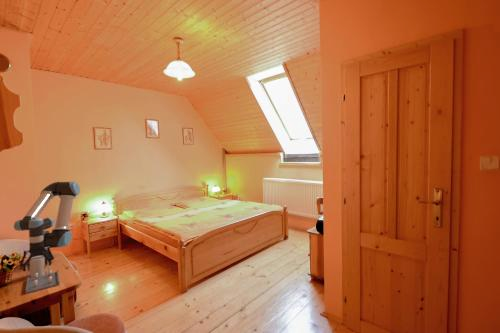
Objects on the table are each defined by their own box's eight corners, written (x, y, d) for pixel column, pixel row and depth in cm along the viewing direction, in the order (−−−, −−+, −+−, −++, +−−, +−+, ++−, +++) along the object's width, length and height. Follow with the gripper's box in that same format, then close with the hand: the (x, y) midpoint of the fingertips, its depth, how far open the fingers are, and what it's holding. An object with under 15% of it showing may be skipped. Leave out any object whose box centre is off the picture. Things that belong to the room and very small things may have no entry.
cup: (47, 273, 173) (47, 256, 172) (33, 278, 165) (33, 261, 165) (41, 271, 176) (41, 254, 176) (27, 276, 169) (26, 259, 168)
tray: (27, 280, 163) (27, 272, 163) (58, 272, 173) (57, 265, 173) (25, 294, 146) (25, 285, 146) (59, 284, 156) (59, 277, 156)
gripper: (12, 246, 160) (14, 280, 160) (58, 239, 175) (59, 269, 175) (14, 243, 165) (15, 276, 166) (57, 236, 180) (58, 266, 181)
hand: (37, 272), depth 171 cm, fingers open, 11 cm apart
